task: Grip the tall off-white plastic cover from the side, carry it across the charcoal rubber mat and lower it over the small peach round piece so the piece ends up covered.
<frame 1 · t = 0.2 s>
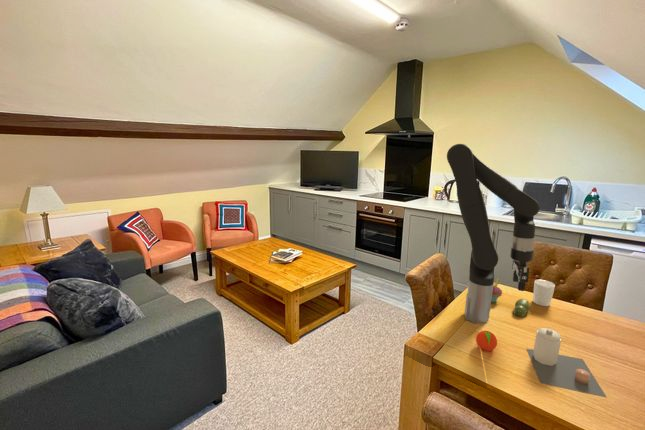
hand: (518, 285, 129), 18 cm above the table, tool pointing down, fingers open, 8 cm apart
white cup: (541, 303, 151), on the table
pear: (520, 313, 142), on the table
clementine: (485, 350, 117), on the table
peach round piece: (581, 380, 101), point 1 cm above the table, touching mat
cupcake: (490, 300, 153), on the table
mat: (562, 371, 106), on the table
cover: (544, 358, 111), point 1 cm above the table, touching mat
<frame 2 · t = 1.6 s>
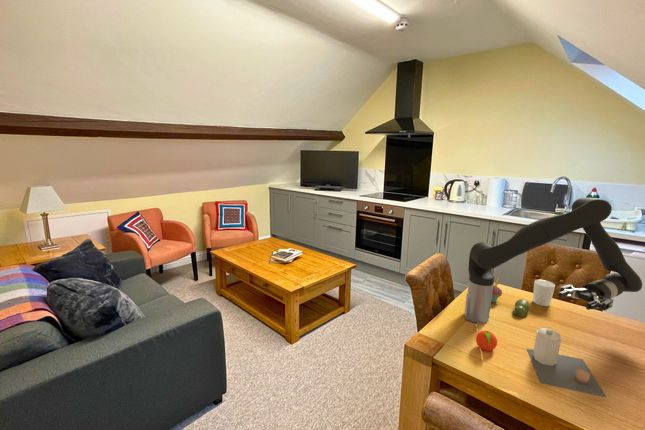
hand: (573, 301, 111), 20 cm above the table, tool horizontal, fingers open, 8 cm apart
nothing on the table moved.
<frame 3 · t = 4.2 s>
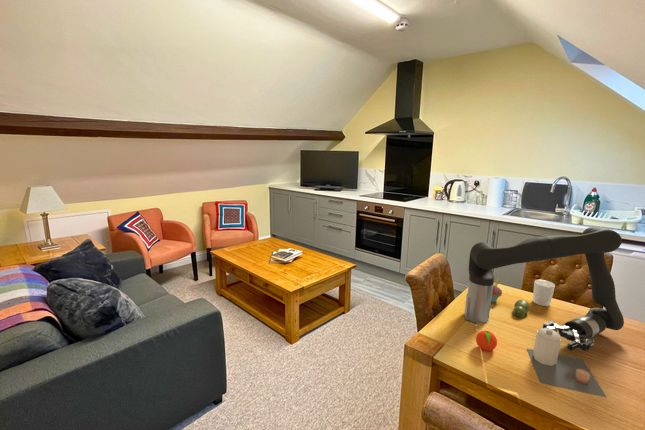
hand: (555, 340, 112), 7 cm above the table, tool horizontal, fingers open, 8 cm apart
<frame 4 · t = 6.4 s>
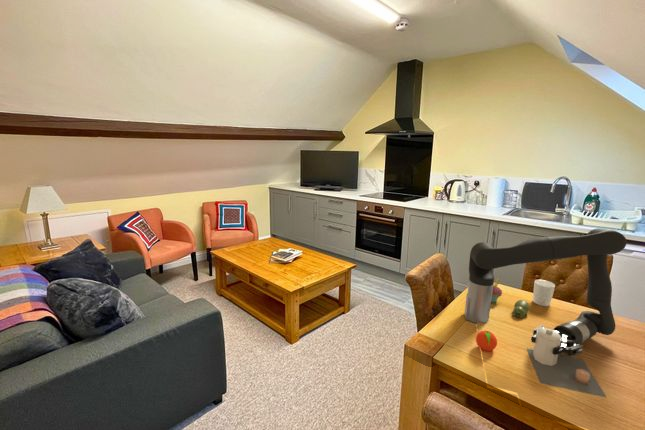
hand: (543, 345, 109), 7 cm above the table, tool horizontal, fingers closed on cover, 6 cm apart
cover: (544, 358, 111), point 1 cm above the table, touching gripper, mat
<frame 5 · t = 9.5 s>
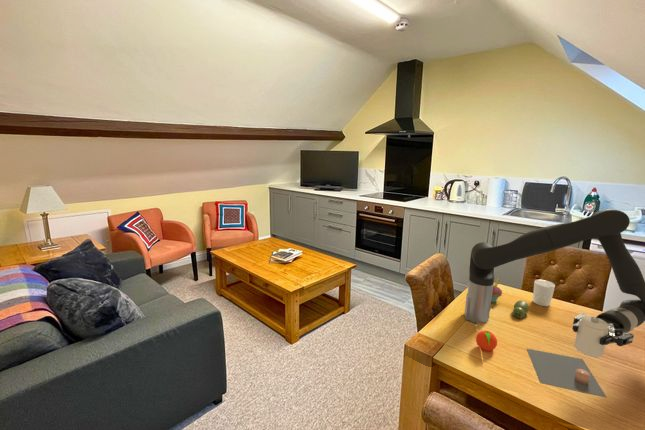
hand: (587, 335, 97), 18 cm above the table, tool horizontal, fingers closed on cover, 6 cm apart
cover: (588, 350, 99), point 12 cm above the table, touching gripper
when the fingers open (8 cm above the table, at t = 12.6 s): cover drops 1 cm, resting on mat.
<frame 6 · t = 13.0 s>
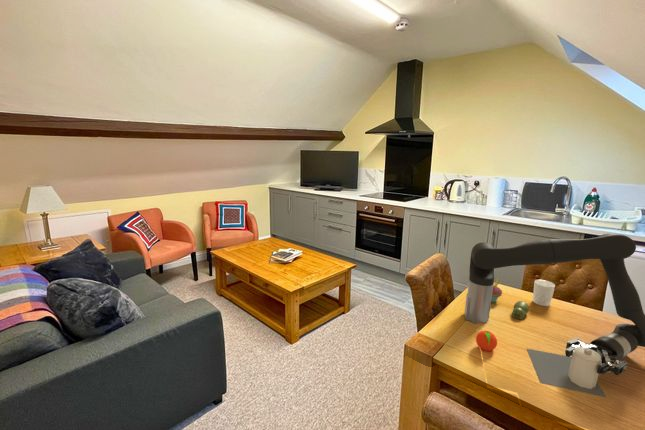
hand: (582, 362, 99), 8 cm above the table, tool horizontal, fingers open, 8 cm apart
cover: (581, 380, 102), point 1 cm above the table, touching mat
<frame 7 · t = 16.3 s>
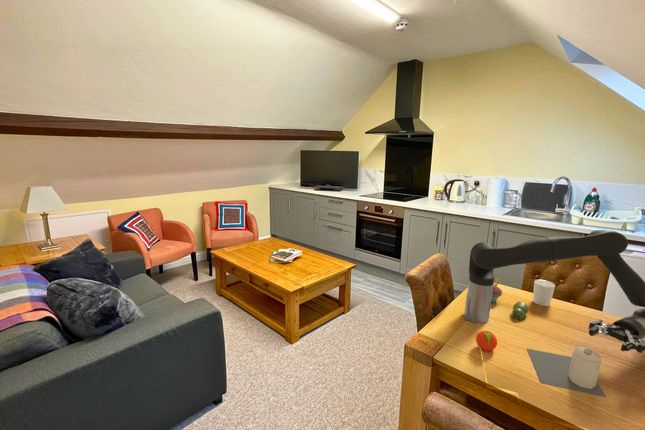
hand: (606, 340, 103), 12 cm above the table, tool horizontal, fingers open, 8 cm apart
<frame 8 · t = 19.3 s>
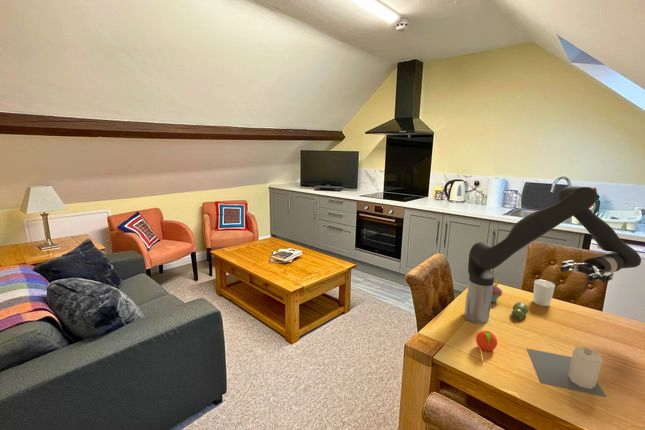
hand: (575, 273, 115), 28 cm above the table, tool horizontal, fingers open, 8 cm apart
at the end: cover 0.1 cm from the peach round piece (horizontally); cover point 0.6 cm above the table; cover tilted 0° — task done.
